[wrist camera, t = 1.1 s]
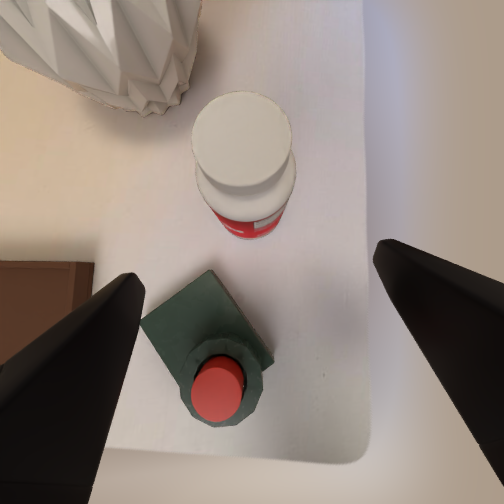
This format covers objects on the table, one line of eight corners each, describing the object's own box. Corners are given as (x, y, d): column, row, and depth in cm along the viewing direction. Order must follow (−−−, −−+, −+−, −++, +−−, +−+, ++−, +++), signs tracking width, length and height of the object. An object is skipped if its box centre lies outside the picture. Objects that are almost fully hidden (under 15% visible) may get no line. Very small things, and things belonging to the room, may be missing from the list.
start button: (252, 384, 16) (252, 401, 14) (216, 412, 16) (209, 433, 14) (226, 346, 16) (222, 357, 14) (190, 373, 16) (180, 387, 14)
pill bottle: (208, 200, 20) (150, 116, 9) (260, 169, 21) (262, 52, 10) (240, 252, 20) (217, 227, 9) (293, 220, 20) (336, 156, 9)
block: (282, 368, 19) (286, 386, 16) (211, 422, 18) (202, 451, 15) (212, 269, 20) (203, 268, 17) (144, 318, 19) (124, 327, 16)
